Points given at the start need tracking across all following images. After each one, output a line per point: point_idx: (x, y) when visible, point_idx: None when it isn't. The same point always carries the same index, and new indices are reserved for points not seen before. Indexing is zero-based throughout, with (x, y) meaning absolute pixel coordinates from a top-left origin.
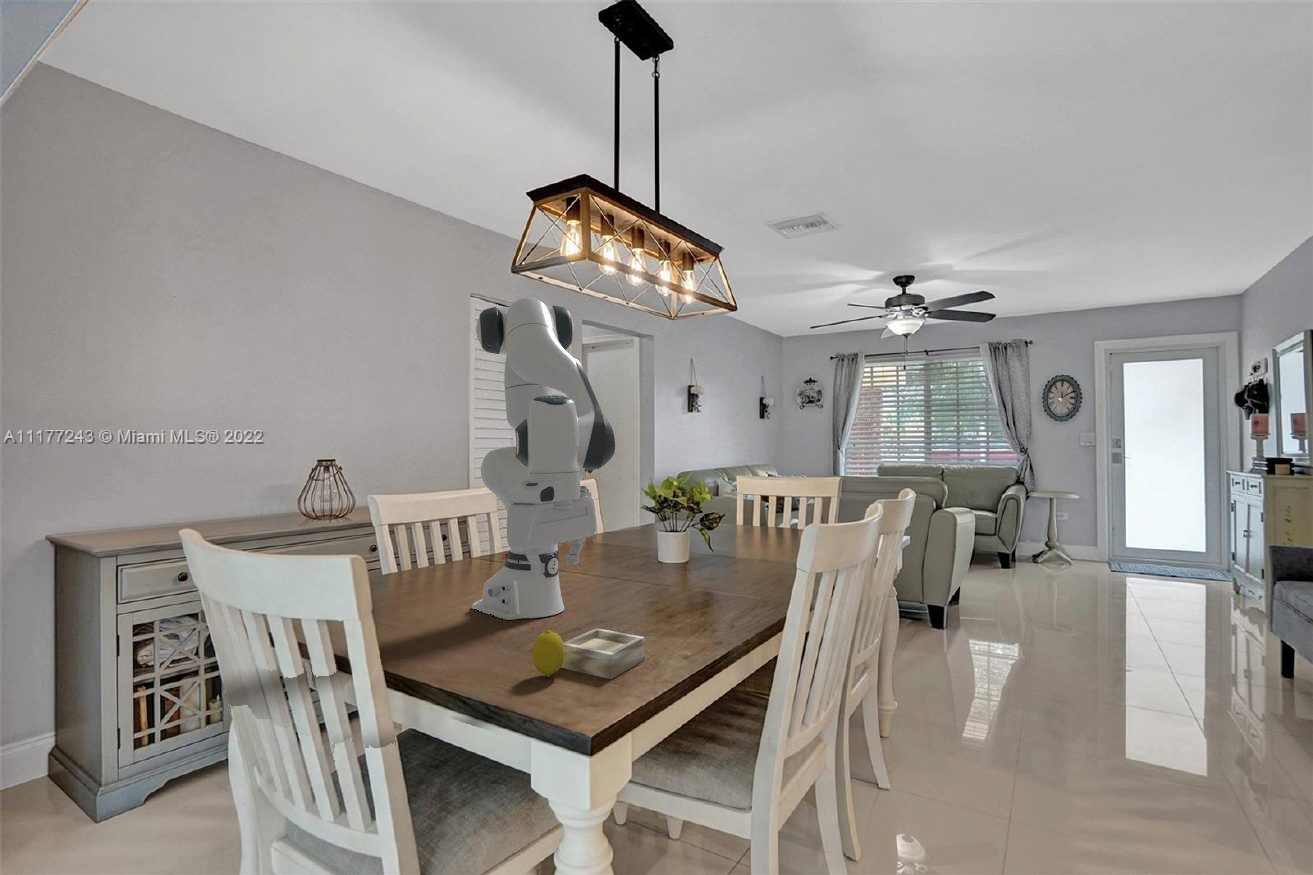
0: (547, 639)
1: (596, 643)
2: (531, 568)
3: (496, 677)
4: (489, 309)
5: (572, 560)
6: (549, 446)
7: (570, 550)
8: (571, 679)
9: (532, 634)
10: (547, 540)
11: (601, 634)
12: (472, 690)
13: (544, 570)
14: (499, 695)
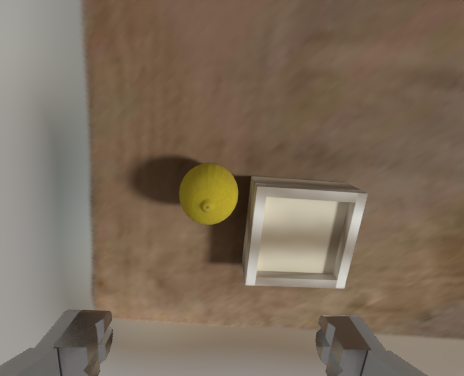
0: (190, 213)
1: (312, 216)
2: (51, 330)
3: (167, 107)
4: None
5: (327, 355)
6: None
7: (388, 370)
8: None
9: (394, 10)
10: None
11: (350, 208)
12: (105, 108)
13: (105, 356)
14: (116, 160)
